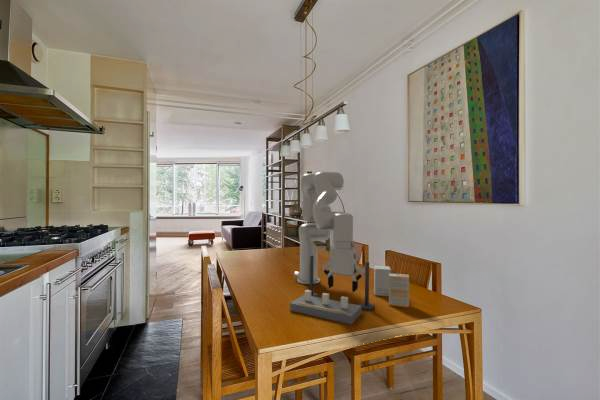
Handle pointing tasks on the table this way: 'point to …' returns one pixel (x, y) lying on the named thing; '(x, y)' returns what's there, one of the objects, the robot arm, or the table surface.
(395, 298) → the supplement box
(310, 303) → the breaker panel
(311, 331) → the table surface
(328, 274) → the robot arm
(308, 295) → the paddle left
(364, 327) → the table surface
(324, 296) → the paddle mid
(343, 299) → the paddle right
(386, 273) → the supplement box
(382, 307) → the table surface
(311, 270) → the cord posts
